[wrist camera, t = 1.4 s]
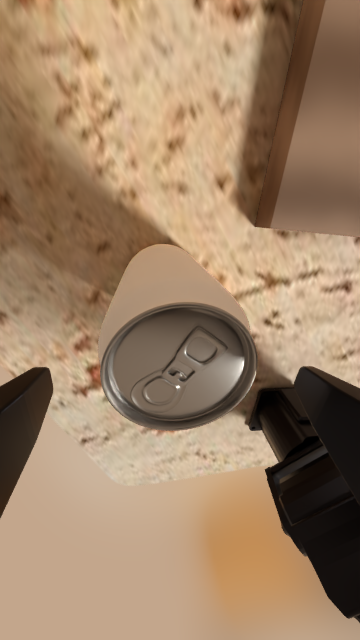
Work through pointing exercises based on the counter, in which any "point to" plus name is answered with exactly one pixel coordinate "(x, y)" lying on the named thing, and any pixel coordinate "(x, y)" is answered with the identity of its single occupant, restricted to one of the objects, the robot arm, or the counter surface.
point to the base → (318, 127)
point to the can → (174, 343)
